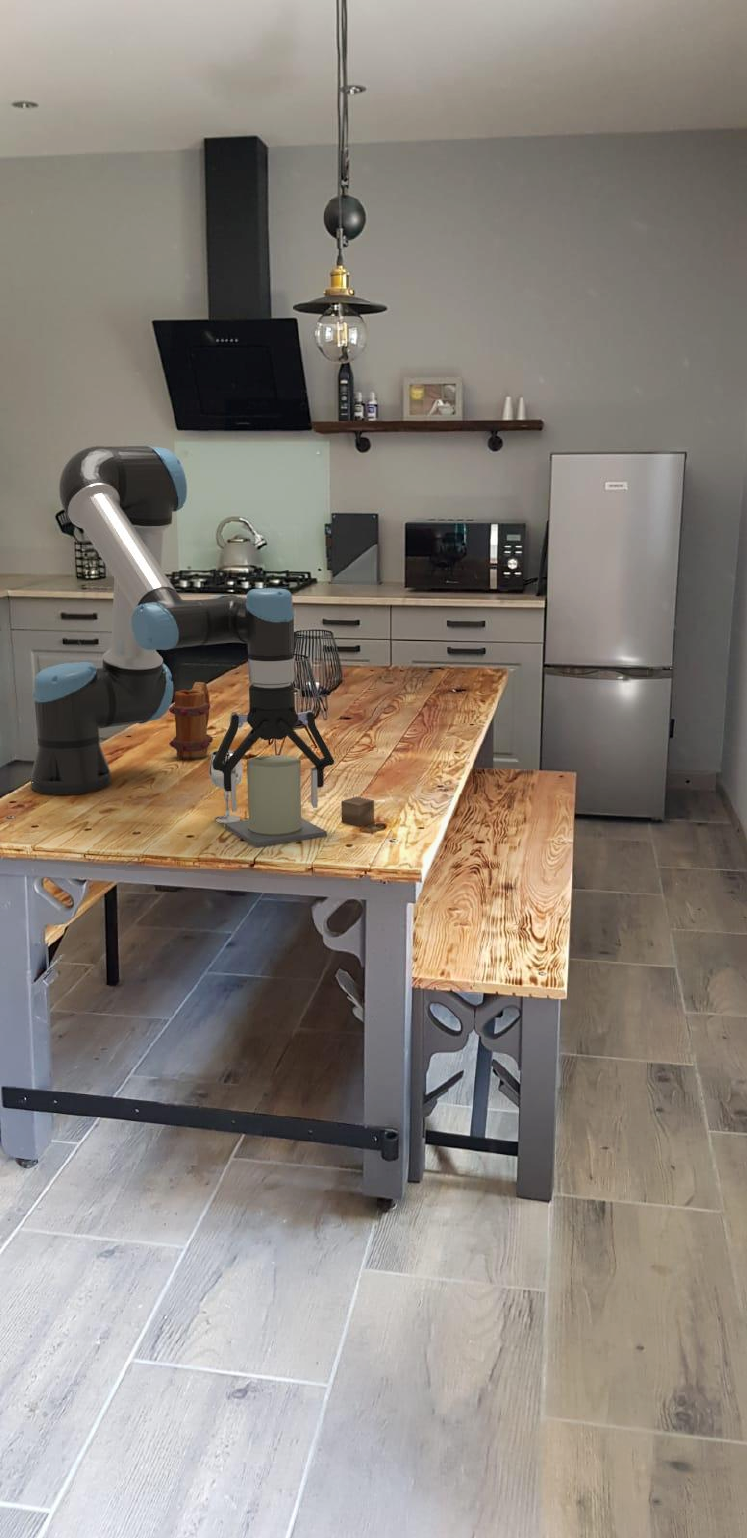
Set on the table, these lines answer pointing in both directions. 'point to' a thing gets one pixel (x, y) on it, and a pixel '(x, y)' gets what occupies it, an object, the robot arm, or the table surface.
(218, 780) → the wineglass
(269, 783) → the can
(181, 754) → the mug
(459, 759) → the table surface
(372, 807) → the walnut block
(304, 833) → the coaster
